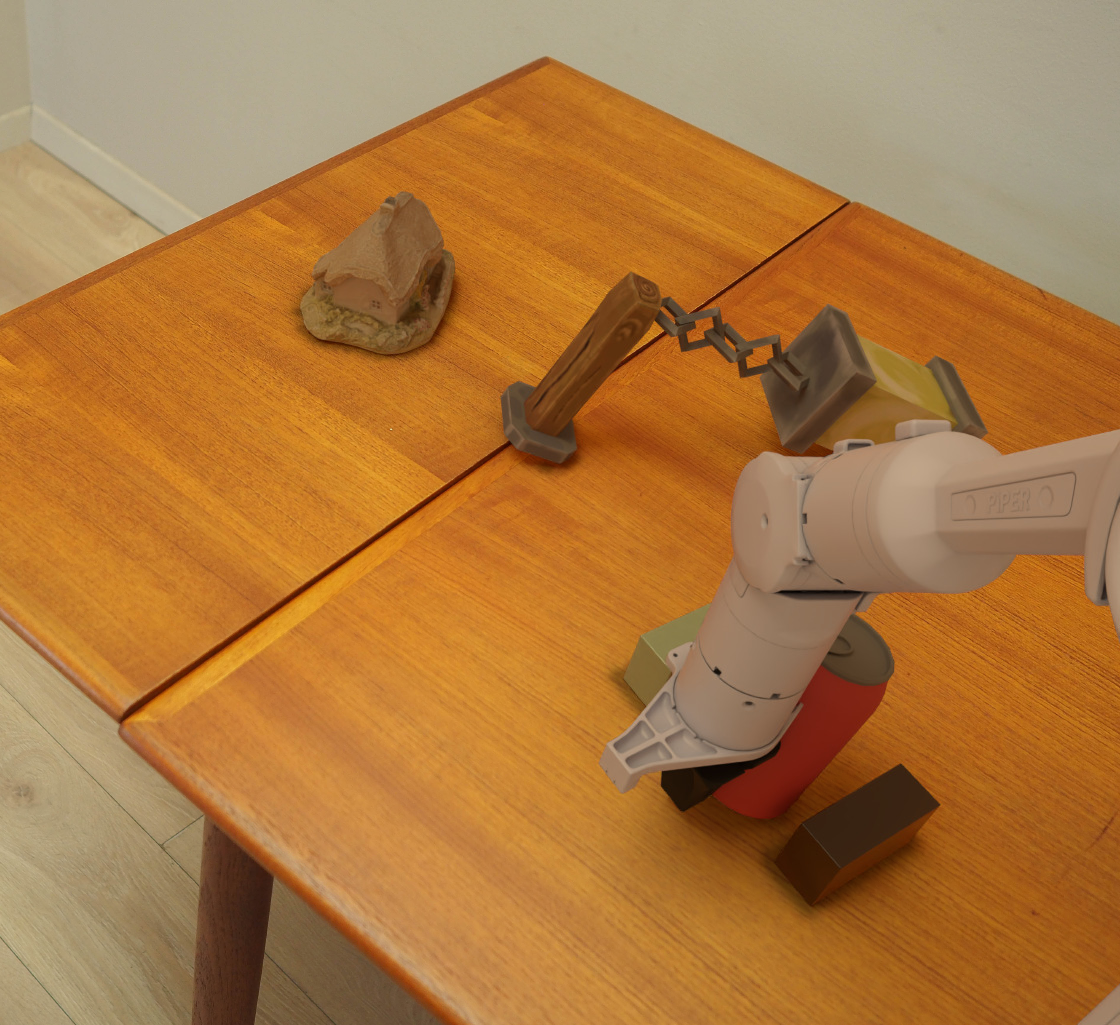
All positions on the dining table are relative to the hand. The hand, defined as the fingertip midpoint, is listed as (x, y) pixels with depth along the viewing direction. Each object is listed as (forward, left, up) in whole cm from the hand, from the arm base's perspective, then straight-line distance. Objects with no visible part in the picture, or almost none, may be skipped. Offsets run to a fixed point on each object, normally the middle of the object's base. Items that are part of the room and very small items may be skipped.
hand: (679, 793), depth 66 cm
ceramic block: (+7, -7, -1) cm, 10 cm away
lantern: (+22, -23, -2) cm, 32 cm away
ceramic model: (+48, -8, -2) cm, 49 cm away
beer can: (-1, -4, -1) cm, 4 cm away
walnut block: (-7, -7, -1) cm, 10 cm away
